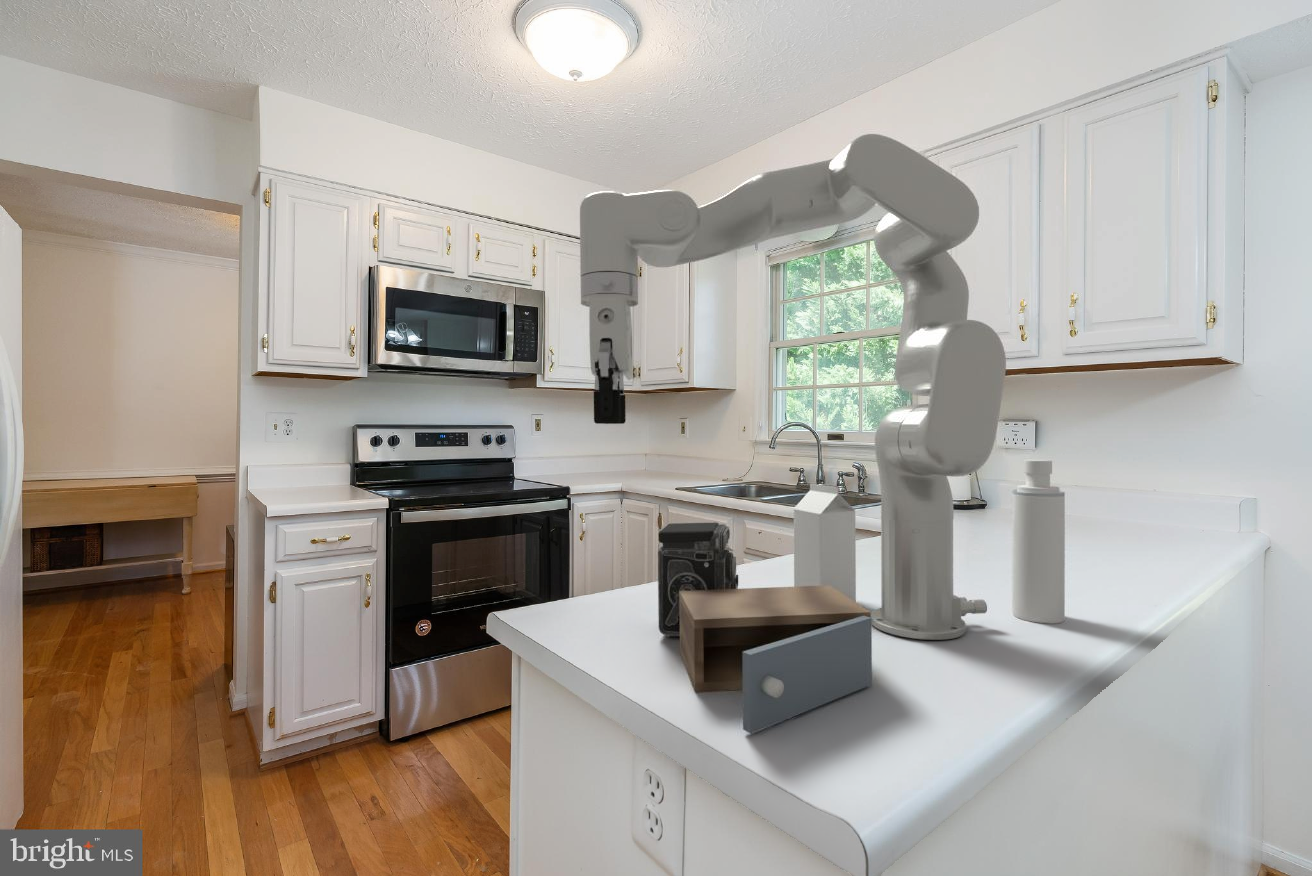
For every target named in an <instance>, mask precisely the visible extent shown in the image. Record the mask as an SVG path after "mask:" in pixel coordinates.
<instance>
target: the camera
mask: <svg viewBox="0 0 1312 876" xmlns="http://www.w3.org/2000/svg"><path fill="white" fill-rule="evenodd" d="M730 534H731V531H730V527H729V526H727V524H725V523H724V524H723V523H722V524H721V523H720V524H719V522H682V523H679V522H678V523H677V522H676V523H672V522H671V523H668V524H667V525H666V526H664V527H663V528H662V529H661V530H659V532H658V542H659V543H660V544H662V546H661V547H660V548H659V549H658V551H657V591H658V593H657V594H658V595H657V596H658V599H657V600H658V601H657V602H658V603H657V604H658V605H657V606H658V630H659V632H660V633H661V634H662V635H664V636H665V637H667V638H670V637H680V611H679V591H691V590H717V589H739V574H737V557H736V556H735V555H734V553H733V552H731V551H730V549H726V547H727V546H728V544H729V539H730Z"/></svg>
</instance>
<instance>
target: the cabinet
mask: <svg viewBox="0 0 1312 876" xmlns="http://www.w3.org/2000/svg"><path fill="white" fill-rule="evenodd" d="M679 611H680V636H679V655H680V656H681V660H682V662H683V665H684V667H685V670H686V673H687V675H688V678H689V681H690V684H691V685H692V688H693V691H694V693H703V692H704V693H706V692H708V693H709V692H722V691H723V692H724V691H743V661H742V652H743V651H747V650H750V649H753V648H757V647H760V646H763V645H767V644H770V643H773V642H777V641H780V640H784V639H787V638H790V637H794V636H797V635H800V634H804V633H807V632H810V631H814V630H817V629H821V628H824V627H827V626H831V625H834V624H837V623H841V622H844V621H848V620H851V619H854V618H858V617H861V616H867V617H870V618H871V611H870V610H868V609H867V608H865V607H863V605H861V604H859V603H858V602H855V601H853V600H852V599H850V598H849V597H847V596H846V595H844V594H843V593H841V592H840V591H838V590H837V589H835V588H834V587H832V586H831V585H825V586H798V587H794V586H777V587H775V586H774V587H773V586H772V587H752V588H751V587H749V588H748V587H747V588H746V587H745V588H744V587H743V588H738V589H717V590H691V591H679Z"/></svg>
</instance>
